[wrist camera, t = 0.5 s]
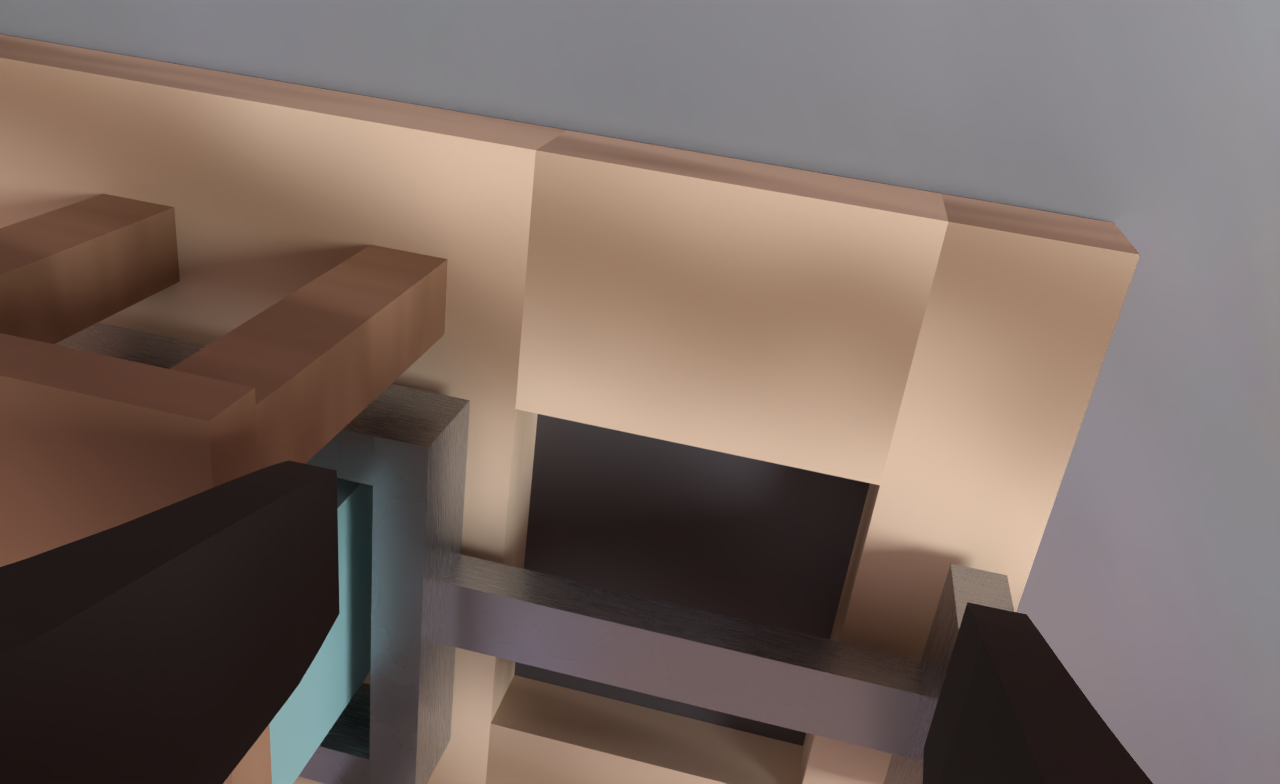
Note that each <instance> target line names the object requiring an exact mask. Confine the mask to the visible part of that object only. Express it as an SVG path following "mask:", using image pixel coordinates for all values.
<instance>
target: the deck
mask: <svg viewBox="0 0 1280 784" xmlns="http://www.w3.org/2000/svg"><path fill="white" fill-rule="evenodd" d="M101 194H108V195H113V196H118V197H123V198H129V199H134V200H139V201H144V202H150V203H155V204H160V205H165V206H171V207H174V210H175V224H176V237H177V250H178V264H179V277H180V282H178V283H176V284H174V285H172V286H170V287H168V288H166V289H164V290H162V291H160V292H158V293H156V294H154V295H152V296H150V297H148V298H146V299H144V300H142V301H140V302H138V303H136V304H134V305H132V306H130V307H128V308H126V309H124V310H122V311H120V312H118V313H116V314H114V315H112V316H110V317H108V318H106V319H104V320H102V321H100V322H98V323H103V324H108V325H113V326H117V327H122V328H127V329H132V330H136V331H141V332H146V333H151V334H156V335H160V336H165V337H170V338H175V339H179V340H184V341H189V342H194V343H199V344H203V345H209V344H211V343H212V342H214V341H216V340H217V339H219V338H220V337H222V336H224V335H225V334H227V333H229V332H230V331H232V330H233V329H235V328H237V327H238V326H240V325H241V324H243V323H245V322H246V321H248V320H250V319H251V318H253V317H254V316H256V315H258V314H259V313H261V312H263V311H264V310H266V309H267V308H269V307H271V306H272V305H274V304H276V303H277V302H279V301H280V300H282V299H284V298H285V297H287V296H288V295H290V294H292V293H293V292H295V291H297V290H298V289H300V288H301V287H303V286H305V285H306V284H308V283H310V282H311V281H313V280H314V279H316V278H318V277H319V276H321V275H323V274H324V273H326V272H327V271H329V270H331V269H332V268H334V267H336V266H337V265H339V264H340V263H342V262H344V261H345V260H347V259H348V258H350V257H352V256H353V255H355V254H357V253H358V252H360V251H361V250H363V249H365V248H366V247H368V246H370V245H376V246H381V247H386V248H391V249H397V250H402V251H407V252H412V253H418V254H423V255H428V256H433V257H439V258H444V259H448V263H447V286H446V308H445V331H444V335H443V336H442V337H441V338H440V339H439V340H438V341H437V342H436V343H435V344H434V345H433V346H431V347H430V348H429V349H428V350H427V351H426V352H425V353H424V354H423V355H422V356H421V357H420V358H419V359H418V360H416V361H415V362H414V363H413V364H412V365H411V366H410V367H409V368H408V369H407V370H406V371H405V372H404V373H402V374H401V375H400V376H399V377H398V378H397V379H396V380H395V381H394V382H393V383H392V384H394V385H399V386H404V387H409V388H414V389H418V390H423V391H428V392H433V393H437V394H442V395H447V396H452V397H457V398H461V399H466V400H470V407H469V424H468V442H467V459H466V476H465V494H464V511H463V529H462V546H461V554H462V555H466V556H471V557H475V558H479V559H484V560H488V561H492V562H497V563H501V564H505V565H510V566H514V567H518V568H523V569H527V570H531V571H536V572H540V573H544V574H548V575H553V576H557V577H561V578H566V579H570V580H574V581H579V582H583V583H587V584H592V585H596V586H600V587H605V588H609V589H613V590H618V591H622V592H626V593H631V594H635V595H639V596H644V597H648V598H652V599H657V600H661V601H665V602H670V603H674V604H678V605H683V606H687V607H691V608H696V609H700V610H704V611H709V612H713V613H717V614H722V615H726V616H730V617H735V618H739V619H743V620H748V621H752V622H756V623H761V624H765V625H769V626H774V627H778V628H782V629H787V630H791V631H795V632H800V633H804V634H808V635H813V636H817V637H821V638H826V639H830V640H834V641H839V642H843V643H847V644H851V645H856V646H860V647H864V648H869V649H873V650H877V651H882V652H886V653H890V654H895V655H899V656H903V657H908V658H912V659H916V660H921V659H922V656H923V653H924V649H925V646H926V643H927V640H928V636H929V633H930V630H931V626H932V623H933V620H934V617H935V613H936V610H937V607H938V604H939V600H940V597H941V594H942V591H943V587H944V584H945V581H946V577H947V574H948V571H949V568H950V564H951V563H952V564H957V565H961V566H966V567H970V568H975V569H979V570H984V571H989V572H993V573H998V574H1002V575H1007V577H1008V582H1009V587H1010V592H1011V597H1012V602H1013V607H1014V612H1016V610H1017V608H1018V605H1019V602H1020V599H1021V596H1022V593H1023V590H1024V587H1025V585H1026V582H1027V579H1028V576H1029V573H1030V570H1031V567H1032V564H1033V561H1034V559H1035V556H1036V553H1037V550H1038V547H1039V544H1040V541H1041V538H1042V536H1043V533H1044V530H1045V527H1046V524H1047V521H1048V518H1049V515H1050V513H1051V510H1052V507H1053V504H1054V501H1055V498H1056V495H1057V492H1058V490H1059V487H1060V484H1061V481H1062V478H1063V475H1064V472H1065V469H1066V466H1067V464H1068V461H1069V458H1070V455H1071V452H1072V449H1073V446H1074V443H1075V441H1076V438H1077V435H1078V432H1079V429H1080V426H1081V423H1082V420H1083V418H1084V415H1085V412H1086V409H1087V406H1088V403H1089V400H1090V397H1091V395H1092V392H1093V389H1094V386H1095V383H1096V380H1097V377H1098V374H1099V372H1100V369H1101V366H1102V363H1103V360H1104V357H1105V354H1106V351H1107V348H1108V346H1109V343H1110V340H1111V337H1112V334H1113V331H1114V328H1115V325H1116V323H1117V320H1118V317H1119V314H1120V311H1121V308H1122V305H1123V302H1124V300H1125V297H1126V294H1127V291H1128V288H1129V285H1130V282H1131V279H1132V277H1133V274H1134V271H1135V268H1136V265H1137V262H1138V259H1139V256H1140V254H1139V253H1138V252H1137V250H1136V249H1135V248H1134V247H1133V246H1132V244H1131V243H1130V242H1129V241H1128V239H1127V238H1126V237H1125V236H1124V235H1123V233H1122V232H1121V231H1120V230H1119V228H1118V227H1117V226H1116V225H1115V224H1114V223H1112V222H1106V221H1100V220H1094V219H1088V218H1082V217H1076V216H1070V215H1064V214H1058V213H1053V212H1047V211H1041V210H1035V209H1029V208H1023V207H1017V206H1011V205H1005V204H999V203H994V202H988V201H982V200H976V199H970V198H964V197H958V196H952V195H946V194H940V193H935V192H929V191H923V190H917V189H911V188H905V187H899V186H893V185H887V184H881V183H875V182H870V181H864V180H858V179H852V178H846V177H840V176H834V175H828V174H822V173H816V172H811V171H805V170H799V169H793V168H787V167H781V166H775V165H769V164H763V163H757V162H752V161H746V160H740V159H734V158H728V157H722V156H716V155H710V154H704V153H698V152H693V151H687V150H681V149H675V148H669V147H663V146H657V145H651V144H645V143H639V142H634V141H628V140H622V139H616V138H610V137H604V136H598V135H592V134H586V133H580V132H575V131H569V130H563V129H557V128H551V127H545V126H539V125H533V124H527V123H521V122H516V121H510V120H504V119H498V118H492V117H486V116H480V115H474V114H468V113H462V112H457V111H451V110H445V109H439V108H433V107H427V106H421V105H415V104H409V103H403V102H397V101H392V100H386V99H380V98H374V97H368V96H362V95H356V94H350V93H344V92H338V91H333V90H327V89H321V88H315V87H309V86H303V85H297V84H291V83H285V82H279V81H274V80H268V79H262V78H256V77H250V76H244V75H238V74H232V73H226V72H220V71H215V70H209V69H203V68H197V67H191V66H185V65H179V64H173V63H167V62H161V61H156V60H150V59H144V58H138V57H132V56H126V55H120V54H114V53H108V52H102V51H97V50H91V49H85V48H79V47H73V46H67V45H61V44H55V43H49V42H43V41H38V40H32V39H26V38H20V37H14V36H8V35H2V34H0V228H3V227H6V226H9V225H12V224H15V223H18V222H21V221H24V220H27V219H30V218H33V217H36V216H39V215H42V214H45V213H48V212H51V211H53V210H56V209H59V208H62V207H65V206H68V205H71V204H74V203H77V202H80V201H83V200H86V199H89V198H92V197H95V196H98V195H101ZM370 680H371V671H370V672H369V674H368V675H367V677H366V678H365V680H364V681H363V683H366V684H370ZM891 757H892V754H891V753H887V752H883V751H879V750H874V749H870V748H866V747H862V746H858V745H854V744H850V743H846V742H842V741H838V740H833V739H829V738H825V737H821V736H817V735H813V734H809V733H805V732H801V731H797V730H793V729H788V728H784V727H780V726H776V725H772V724H768V723H764V722H760V721H756V720H752V719H747V718H743V717H739V716H735V715H731V714H727V713H723V712H719V711H715V710H711V709H707V708H702V707H698V706H694V705H690V704H686V703H682V702H678V701H674V700H670V699H666V698H661V697H657V696H653V695H649V694H645V693H641V692H637V691H633V690H629V689H625V688H621V687H616V686H612V685H608V684H604V683H600V682H596V681H592V680H588V679H584V678H580V677H575V676H571V675H567V674H563V673H559V672H555V671H551V670H547V669H543V668H539V667H534V666H530V665H526V664H522V663H518V662H514V661H510V660H506V659H502V658H498V657H494V656H489V655H485V654H481V653H477V652H473V651H469V650H465V649H461V648H457V647H456V651H455V668H454V685H453V703H452V720H451V738H450V741H449V743H448V745H447V747H446V749H445V751H444V752H443V754H442V756H441V758H440V760H439V762H438V764H437V766H436V768H435V769H434V771H433V773H432V775H431V777H430V779H429V781H428V783H427V784H883V783H884V780H885V777H886V774H887V770H888V767H889V764H890V761H891ZM293 784H325V783H321V782H318V781H314V780H310V779H306V778H303V777H299V776H298V777H297V779H296V780H295V782H294V783H293Z"/></svg>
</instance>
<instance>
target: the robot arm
mask: <svg viewBox="0 0 1280 784" xmlns="http://www.w3.org/2000/svg"><path fill="white" fill-rule="evenodd" d="M339 613H340V612H339V561H338V511H337V470H332V469H328V468H323V467H318V466H313V465H308V464H304V463H299V462H294V461H289V460H288V461H285V462H281V463H278V464H275V465H271V466H269V467H266V468H263V469H260V470H257V471H255V472H252V473H249V474H247V475H244V476H241V477H239V478H236V479H234V480H231V481H229V482H226V483H224V484H221V485H219V486H216V487H214V488H211V489H209V490H206V491H204V492H201V493H199V494H196V495H194V496H191V497H189V498H186V499H184V500H181V501H179V502H176V503H174V504H171V505H169V506H166V507H164V508H161V509H159V510H156V511H154V512H151V513H149V514H146V515H144V516H141V517H139V518H136V519H134V520H131V521H129V522H126V523H123V524H121V525H118V526H116V527H113V528H110V529H107V530H104V531H102V532H99V533H96V534H93V535H91V536H88V537H85V538H82V539H80V540H77V541H74V542H71V543H68V544H66V545H63V546H60V547H57V548H55V549H52V550H49V551H46V552H43V553H41V554H38V555H35V556H32V557H30V558H27V559H24V560H21V561H17V562H14V563H11V564H8V565H5V566H2V567H0V784H223V783H224V782H225V780H226V779H227V778H228V777H229V775H230V774H231V773H232V771H233V770H234V769H235V768H236V766H237V765H238V764H239V762H240V761H241V760H242V759H243V757H244V756H245V755H246V753H247V752H248V751H249V750H250V748H251V747H252V746H253V744H254V743H255V742H256V741H257V739H258V738H259V737H260V735H261V734H262V733H263V731H264V730H265V729H266V728H267V726H268V725H269V724H270V722H271V721H272V720H273V718H274V717H275V716H276V714H277V713H278V712H279V711H280V709H281V708H282V707H283V705H284V704H285V703H286V701H287V700H288V699H289V697H290V696H291V695H292V693H293V692H294V691H295V689H296V688H297V686H298V685H299V684H300V682H301V680H302V679H303V677H304V675H305V673H306V672H307V670H308V668H309V667H310V665H311V663H312V662H313V660H314V658H315V657H316V655H317V653H318V652H319V650H320V648H321V646H322V644H323V643H324V641H325V639H326V637H327V635H328V633H329V632H330V630H331V628H332V626H333V624H334V623H335V621H336V619H337V617H338V615H339ZM923 784H1153V783H1152V782H1151V780H1150V779H1149V778H1148V777H1147V776H1146V774H1145V773H1144V772H1143V771H1142V769H1141V768H1140V767H1139V766H1138V764H1137V763H1136V762H1135V761H1134V759H1133V758H1132V757H1131V756H1130V754H1129V753H1128V752H1127V751H1126V749H1125V748H1124V747H1123V746H1122V744H1121V743H1120V742H1119V740H1118V739H1117V738H1116V736H1115V735H1114V734H1113V732H1112V731H1111V730H1110V729H1109V727H1108V726H1107V725H1106V723H1105V722H1104V721H1103V719H1102V718H1101V717H1100V715H1099V714H1098V713H1097V711H1096V710H1095V709H1094V707H1093V706H1092V705H1091V703H1090V702H1089V701H1088V699H1087V698H1086V696H1085V695H1084V694H1083V692H1082V691H1081V690H1080V688H1079V687H1078V685H1077V684H1076V683H1075V681H1074V680H1073V678H1072V677H1071V676H1070V674H1069V673H1068V672H1067V670H1066V669H1065V667H1064V666H1063V665H1062V663H1061V662H1060V660H1059V659H1058V658H1057V656H1056V655H1055V653H1054V652H1053V650H1052V649H1051V648H1050V646H1049V645H1048V643H1047V642H1046V641H1045V639H1044V638H1043V636H1042V635H1041V634H1040V632H1039V631H1038V629H1037V628H1036V627H1035V625H1034V624H1033V623H1032V621H1031V620H1030V619H1029V617H1028V616H1027V615H1026V614H1022V613H1017V612H1012V611H1007V610H1002V609H998V608H993V607H988V606H983V605H978V604H974V603H969V602H967V605H966V608H965V612H964V615H963V618H962V622H961V625H960V628H959V632H958V635H957V638H956V642H955V645H954V648H953V652H952V655H951V658H950V662H949V665H948V668H947V672H946V675H945V678H944V682H943V685H942V688H941V692H940V695H939V698H938V702H937V705H936V708H935V712H934V715H933V718H932V722H931V725H930V729H929V732H928V735H927V739H926V742H925V745H924V756H923Z"/></svg>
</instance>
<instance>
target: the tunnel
mask: <svg viewBox="0 0 1280 784" xmlns="http://www.w3.org/2000/svg"><path fill="white" fill-rule="evenodd" d="M447 263H448V259H444V258H439V257H433V256H428V255H423V254H418V253H412V252H407V251H402V250H397V249H391V248H386V247H381V246H376V245H370V246H368V247H366V248H365V249H363V250H361V251H360V252H358V253H357V254H355V255H353V256H352V257H350V258H348V259H347V260H345V261H344V262H342V263H340V264H339V265H337V266H336V267H334V268H332V269H331V270H329V271H327V272H326V273H324V274H323V275H321V276H319V277H318V278H316V279H314V280H313V281H311V282H310V283H308V284H306V285H305V286H303V287H301V288H300V289H298V290H297V291H295V292H293V293H292V294H290V295H288V296H287V297H285V298H284V299H282V300H280V301H279V302H277V303H276V304H274V305H272V306H271V307H269V308H267V309H266V310H264V311H263V312H261V313H259V314H258V315H256V316H254V317H253V318H251V319H250V320H248V321H246V322H245V323H243V324H241V325H240V326H238V327H237V328H235V329H233V330H232V331H230V332H229V333H227V334H225V335H224V336H222V337H220V338H219V339H217V340H216V341H214V342H212V343H211V344H209V345H207V346H206V347H204V348H203V349H201V350H199V351H198V352H196V353H194V354H193V355H191V356H190V357H188V358H186V359H185V360H183V361H182V362H180V363H178V364H177V365H175V366H173V367H172V368H170V369H166V368H162V367H157V366H152V365H148V364H143V363H138V362H134V361H129V360H124V359H119V358H115V357H110V356H105V355H101V354H96V353H91V352H87V351H82V350H77V349H73V348H68V347H63V346H59V345H54V344H56V343H58V342H60V341H62V340H64V339H66V338H68V337H70V336H72V335H74V334H76V333H78V332H80V331H82V330H84V329H86V328H88V327H90V326H92V325H94V324H96V323H98V322H100V321H102V320H104V319H106V318H108V317H110V316H112V315H114V314H116V313H118V312H120V311H122V310H124V309H126V308H128V307H130V306H132V305H134V304H136V303H138V302H140V301H142V300H144V299H146V298H148V297H150V296H152V295H154V294H156V293H158V292H160V291H162V290H164V289H166V288H168V287H170V286H172V285H174V284H176V283H178V282H180V277H179V264H178V250H177V237H176V224H175V210H174V207H171V206H165V205H160V204H155V203H150V202H144V201H139V200H134V199H129V198H123V197H118V196H113V195H108V194H101V195H98V196H95V197H92V198H89V199H86V200H83V201H80V202H77V203H74V204H71V205H68V206H65V207H62V208H59V209H56V210H53V211H51V212H48V213H45V214H42V215H39V216H36V217H33V218H30V219H27V220H24V221H21V222H18V223H15V224H12V225H9V226H6V227H3V228H0V567H2V566H5V565H8V564H11V563H14V562H17V561H21V560H24V559H27V558H30V557H32V556H35V555H38V554H41V553H43V552H46V551H49V550H52V549H55V548H57V547H60V546H63V545H66V544H68V543H71V542H74V541H77V540H80V539H82V538H85V537H88V536H91V535H93V534H96V533H99V532H102V531H104V530H107V529H110V528H113V527H116V526H118V525H121V524H123V523H126V522H129V521H131V520H134V519H136V518H139V517H141V516H144V515H146V514H149V513H151V512H154V511H156V510H159V509H161V508H164V507H166V506H169V505H171V504H174V503H176V502H179V501H181V500H184V499H186V498H189V497H191V496H194V495H196V494H199V493H201V492H204V491H206V490H209V489H211V488H214V487H216V486H219V485H221V484H224V483H226V482H229V481H231V480H234V479H236V478H239V477H241V476H244V475H247V474H249V473H252V472H255V471H257V470H260V469H263V468H266V467H269V466H271V465H275V464H278V463H281V462H285V461H288V460H289V461H294V462H299V463H304V464H306V463H307V462H308V461H309V460H310V459H311V458H312V457H313V456H314V455H315V454H316V453H317V452H319V451H320V450H321V449H322V448H323V447H324V446H325V445H326V444H327V443H328V442H329V441H330V440H331V439H333V438H334V437H335V436H336V435H337V434H338V433H339V432H340V431H341V430H342V429H343V428H344V427H345V426H347V425H348V424H349V423H350V422H351V421H352V420H353V419H354V418H355V417H356V416H357V415H358V414H359V413H360V412H362V411H363V410H364V409H365V408H366V407H367V406H368V405H369V404H370V403H371V402H372V401H373V400H374V399H376V398H377V397H378V396H379V395H380V394H381V393H382V392H383V391H384V390H385V389H386V388H387V387H388V386H390V385H391V384H392V383H393V382H394V381H395V380H396V379H397V378H398V377H399V376H400V375H401V374H402V373H404V372H405V371H406V370H407V369H408V368H409V367H410V366H411V365H412V364H413V363H414V362H415V361H416V360H418V359H419V358H420V357H421V356H422V355H423V354H424V353H425V352H426V351H427V350H428V349H429V348H430V347H431V346H433V345H434V344H435V343H436V342H437V341H438V340H439V339H440V338H441V337H442V336H443V335H444V331H445V308H446V286H447ZM223 784H272V772H271V748H270V725H268V726H267V728H266V729H265V730H264V731H263V733H262V734H261V735H260V737H259V738H258V739H257V741H256V742H255V743H254V744H253V746H252V747H251V748H250V750H249V751H248V752H247V753H246V755H245V756H244V757H243V759H242V760H241V761H240V762H239V764H238V765H237V766H236V768H235V769H234V770H233V771H232V773H231V774H230V775H229V777H228V778H227V779H226V780H225V782H224V783H223Z"/></svg>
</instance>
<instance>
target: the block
mask: <svg viewBox="0 0 1280 784" xmlns="http://www.w3.org/2000/svg"><path fill="white" fill-rule="evenodd" d="M337 511H338V561H339V612H340V613H339V615H338V617H337V619H336V621H335V623H334V624H333V626H332V628H331V630H330V632H329V633H328V635H327V637H326V639H325V641H324V643H323V644H322V646H321V648H320V650H319V652H318V653H317V655H316V657H315V658H314V660H313V662H312V663H311V665H310V667H309V668H308V670H307V672H306V673H305V675H304V677H303V679H302V680H301V682H300V684H299V685H298V686H297V688H296V689H295V691H294V692H293V693H292V695H291V696H290V697H289V699H288V700H287V701H286V703H285V704H284V705H283V707H282V708H281V709H280V711H279V712H278V713H277V714H276V716H275V717H274V718H273V720H272V721H271V722H270V724H269V725H270V748H271V772H272V784H293V783H294V782H295V780H296V779H297V777H298V776H299V774H300V773H301V772H302V770H303V769H304V767H305V766H306V764H307V763H308V761H309V760H310V758H311V757H312V755H313V754H314V753H315V751H316V750H317V748H318V747H319V745H320V744H321V742H322V741H323V739H324V738H325V737H326V735H327V734H328V732H329V731H330V729H331V728H332V726H333V725H334V723H335V722H336V720H337V719H338V718H339V716H340V715H341V713H342V712H343V710H344V709H345V707H346V706H347V704H348V703H349V702H350V700H351V699H352V697H353V696H354V694H355V693H356V691H357V690H358V688H359V687H360V685H361V684H362V683H363V681H364V680H365V678H366V677H367V675H368V674H369V672H370V671H371V601H372V521H373V486H371V485H367V484H363V483H358V482H354V481H349V480H345V479H340V478H337Z"/></svg>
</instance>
